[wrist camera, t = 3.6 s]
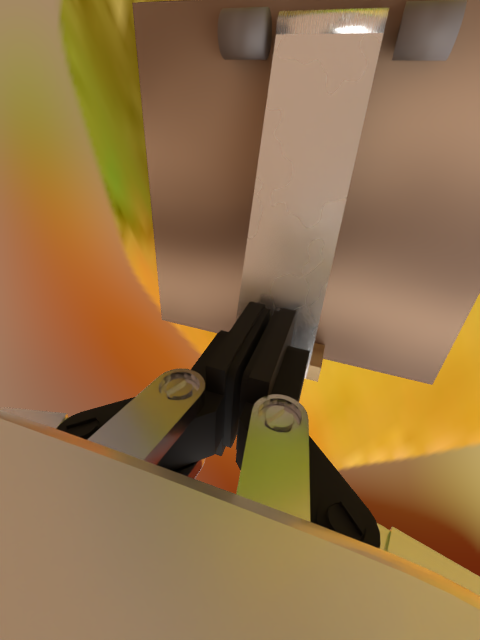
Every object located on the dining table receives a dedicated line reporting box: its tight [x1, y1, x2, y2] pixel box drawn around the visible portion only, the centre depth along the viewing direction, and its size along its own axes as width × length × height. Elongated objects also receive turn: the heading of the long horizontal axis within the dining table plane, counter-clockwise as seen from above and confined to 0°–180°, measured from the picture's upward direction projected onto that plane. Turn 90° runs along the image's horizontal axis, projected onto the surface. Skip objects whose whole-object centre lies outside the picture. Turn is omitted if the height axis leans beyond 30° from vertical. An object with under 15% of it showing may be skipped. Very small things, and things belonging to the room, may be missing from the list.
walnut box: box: [133, 0, 480, 385], centre depth 14 cm, size 13×14×7 cm
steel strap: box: [236, 7, 389, 378], centre depth 10 cm, size 11×3×1 cm, turn 177°
